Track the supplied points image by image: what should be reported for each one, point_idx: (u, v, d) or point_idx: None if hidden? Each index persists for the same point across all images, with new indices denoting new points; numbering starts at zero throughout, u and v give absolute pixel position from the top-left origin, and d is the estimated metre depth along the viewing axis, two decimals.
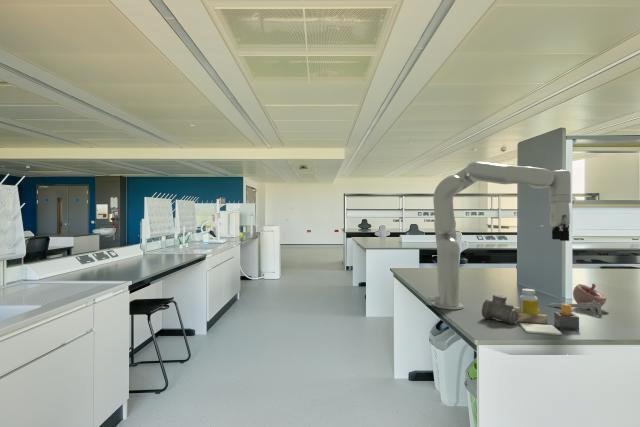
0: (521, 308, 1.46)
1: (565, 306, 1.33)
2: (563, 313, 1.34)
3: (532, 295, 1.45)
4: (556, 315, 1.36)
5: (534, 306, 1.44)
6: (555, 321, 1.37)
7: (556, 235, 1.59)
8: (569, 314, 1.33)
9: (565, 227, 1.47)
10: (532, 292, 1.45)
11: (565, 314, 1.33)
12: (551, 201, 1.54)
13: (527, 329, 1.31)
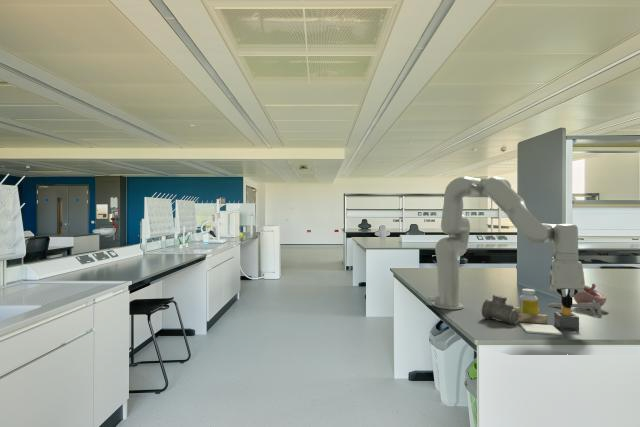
0: (521, 308, 1.46)
1: (565, 308, 1.33)
2: None
3: (532, 295, 1.45)
4: (556, 315, 1.36)
5: (534, 306, 1.44)
6: (555, 321, 1.37)
7: None
8: None
9: None
10: (532, 292, 1.45)
11: None
12: (573, 260, 1.31)
13: (527, 329, 1.31)
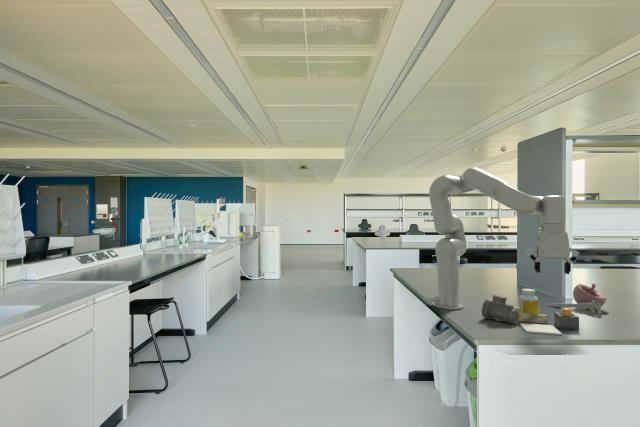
0: (521, 308, 1.46)
1: (565, 310, 1.33)
2: None
3: (532, 295, 1.45)
4: (556, 315, 1.36)
5: (534, 306, 1.44)
6: (555, 321, 1.37)
7: None
8: None
9: None
10: (532, 292, 1.45)
11: None
12: (559, 230, 1.35)
13: (527, 329, 1.31)
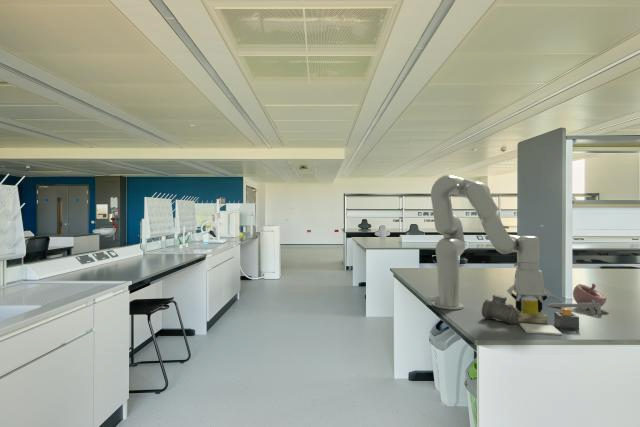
0: (521, 308, 1.46)
1: (565, 310, 1.33)
2: None
3: None
4: (556, 315, 1.36)
5: (534, 306, 1.44)
6: (555, 321, 1.37)
7: None
8: None
9: None
10: None
11: None
12: (534, 269, 1.43)
13: (527, 329, 1.31)
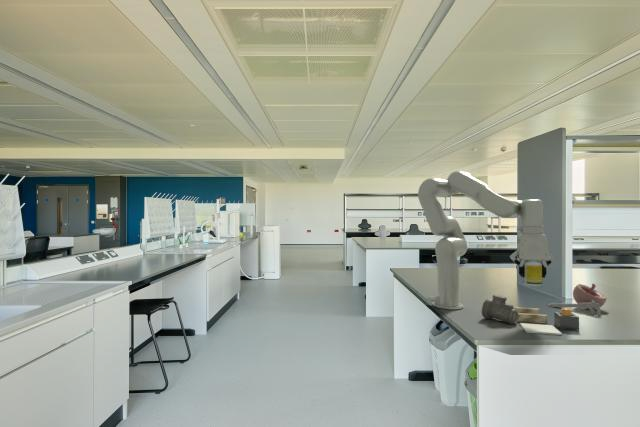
0: (525, 274, 1.41)
1: (565, 310, 1.33)
2: None
3: None
4: (556, 315, 1.36)
5: (538, 271, 1.39)
6: (555, 321, 1.37)
7: None
8: None
9: None
10: None
11: None
12: (538, 233, 1.38)
13: (527, 329, 1.31)
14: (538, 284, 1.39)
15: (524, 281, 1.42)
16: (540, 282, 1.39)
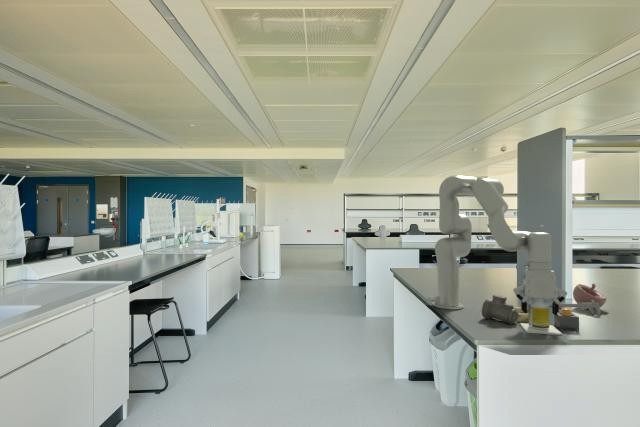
0: (530, 316, 1.32)
1: (565, 310, 1.33)
2: None
3: (542, 302, 1.31)
4: (556, 315, 1.36)
5: (545, 314, 1.29)
6: (555, 321, 1.37)
7: None
8: None
9: None
10: None
11: None
12: (545, 269, 1.29)
13: (527, 329, 1.31)
14: (545, 328, 1.29)
15: (530, 324, 1.33)
16: (547, 326, 1.30)
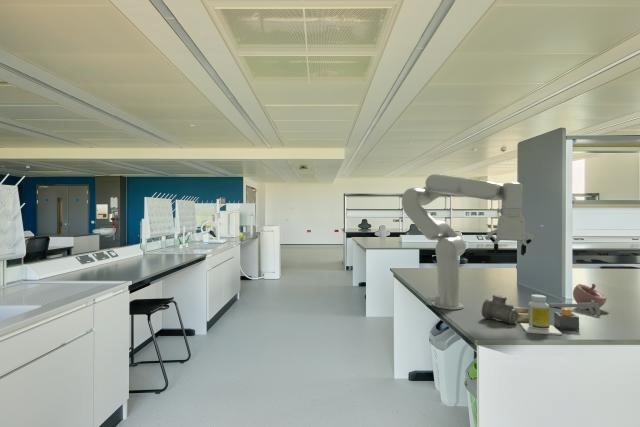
0: (530, 316, 1.32)
1: (565, 310, 1.33)
2: None
3: (543, 302, 1.31)
4: (556, 315, 1.36)
5: (545, 315, 1.29)
6: (555, 321, 1.37)
7: (497, 249, 1.52)
8: None
9: None
10: (543, 298, 1.30)
11: None
12: (515, 214, 1.46)
13: (527, 329, 1.31)
14: (545, 328, 1.29)
15: (530, 324, 1.33)
16: (547, 326, 1.30)
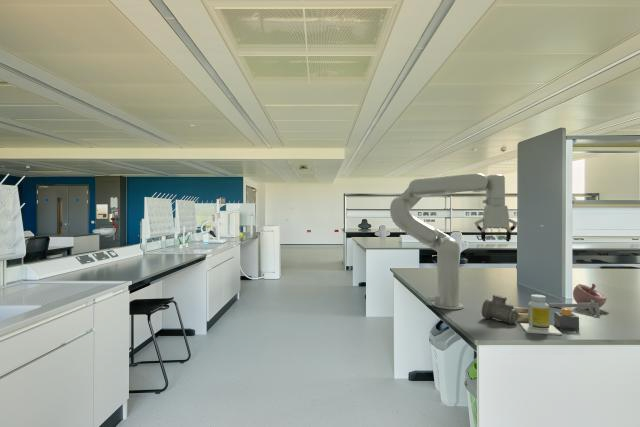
0: (530, 316, 1.32)
1: (565, 310, 1.33)
2: None
3: (543, 302, 1.31)
4: (556, 315, 1.36)
5: (545, 314, 1.29)
6: (555, 321, 1.37)
7: (484, 237, 1.63)
8: None
9: (514, 228, 1.59)
10: (543, 298, 1.30)
11: None
12: (499, 204, 1.58)
13: (527, 329, 1.31)
14: (545, 328, 1.29)
15: (530, 324, 1.33)
16: (547, 326, 1.30)
